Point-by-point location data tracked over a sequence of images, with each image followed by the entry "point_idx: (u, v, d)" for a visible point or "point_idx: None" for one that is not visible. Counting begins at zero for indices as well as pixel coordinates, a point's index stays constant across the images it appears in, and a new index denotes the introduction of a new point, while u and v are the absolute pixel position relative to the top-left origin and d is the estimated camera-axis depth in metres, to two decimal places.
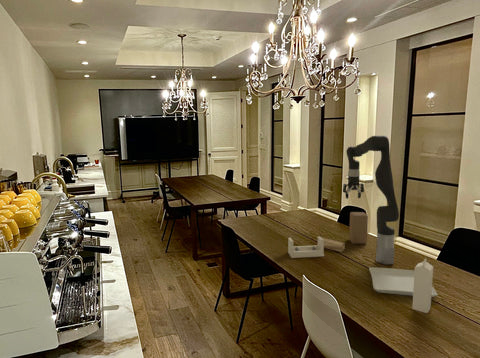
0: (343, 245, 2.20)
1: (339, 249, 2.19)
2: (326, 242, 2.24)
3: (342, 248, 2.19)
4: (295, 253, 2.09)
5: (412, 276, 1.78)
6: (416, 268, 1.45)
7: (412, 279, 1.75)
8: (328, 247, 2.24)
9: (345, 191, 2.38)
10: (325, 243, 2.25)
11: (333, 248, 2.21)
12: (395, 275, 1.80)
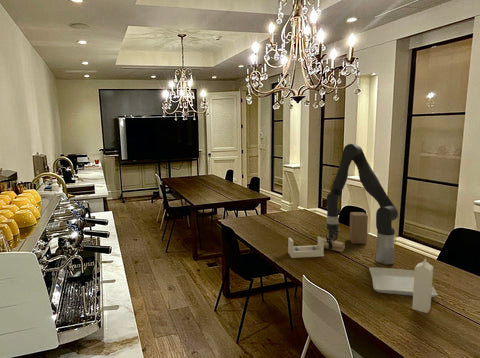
0: (343, 245, 2.20)
1: (339, 249, 2.19)
2: (326, 242, 2.24)
3: (342, 247, 2.19)
4: (295, 253, 2.09)
5: (412, 276, 1.78)
6: (416, 268, 1.45)
7: (412, 279, 1.75)
8: None
9: (330, 241, 2.19)
10: (325, 242, 2.25)
11: (333, 248, 2.21)
12: (395, 275, 1.80)
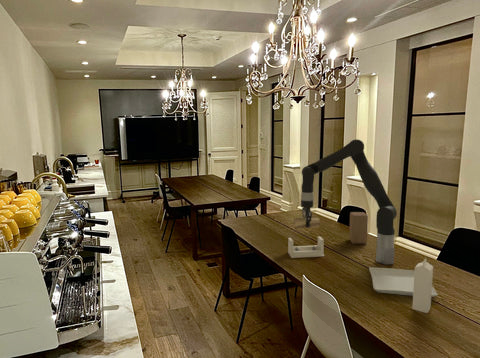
0: None
1: (317, 225, 2.11)
2: (303, 221, 2.10)
3: None
4: (295, 253, 2.09)
5: (412, 276, 1.78)
6: (416, 268, 1.45)
7: (412, 279, 1.75)
8: (305, 225, 2.11)
9: (310, 219, 2.08)
10: (301, 222, 2.10)
11: (310, 225, 2.11)
12: (395, 275, 1.80)
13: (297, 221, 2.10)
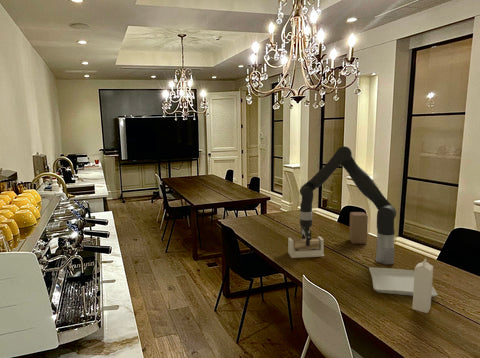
0: None
1: (316, 246, 2.12)
2: (302, 242, 2.11)
3: None
4: (295, 253, 2.09)
5: (412, 276, 1.78)
6: (416, 268, 1.45)
7: (412, 279, 1.75)
8: (304, 247, 2.12)
9: (310, 238, 2.07)
10: (301, 243, 2.11)
11: (310, 246, 2.12)
12: (395, 275, 1.80)
13: (296, 242, 2.11)
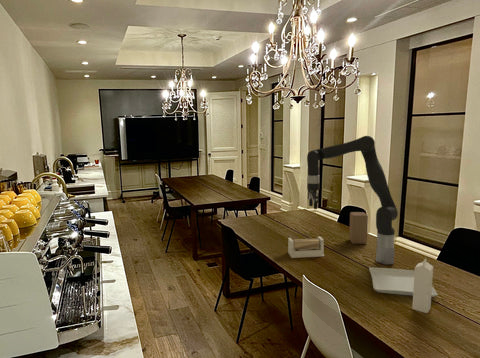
0: None
1: (316, 246, 2.12)
2: (302, 242, 2.11)
3: None
4: (295, 253, 2.09)
5: (412, 276, 1.78)
6: (416, 268, 1.45)
7: (412, 279, 1.75)
8: (304, 247, 2.12)
9: (318, 201, 2.10)
10: (301, 243, 2.11)
11: (310, 246, 2.12)
12: (395, 275, 1.80)
13: (296, 242, 2.11)
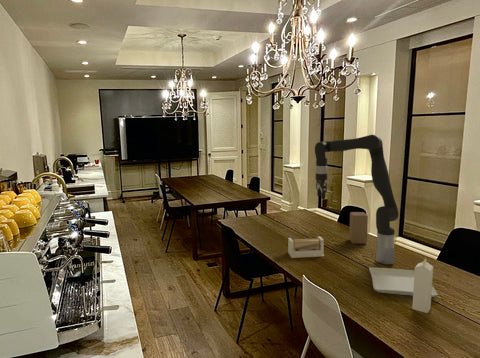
0: None
1: (316, 246, 2.12)
2: (302, 242, 2.11)
3: None
4: (295, 253, 2.09)
5: (412, 276, 1.78)
6: (416, 268, 1.45)
7: (412, 279, 1.75)
8: (304, 247, 2.12)
9: None
10: (301, 243, 2.11)
11: (310, 246, 2.12)
12: (395, 275, 1.80)
13: (296, 242, 2.11)
